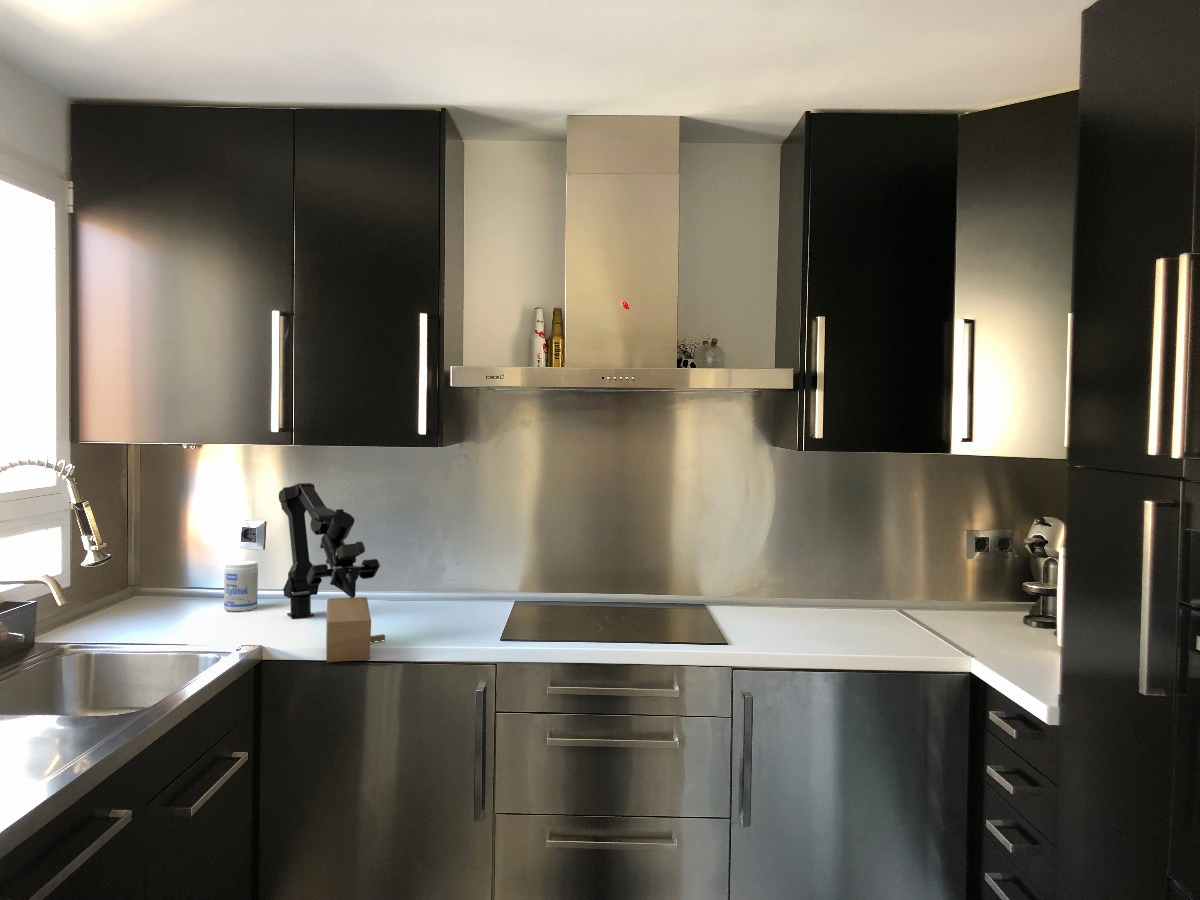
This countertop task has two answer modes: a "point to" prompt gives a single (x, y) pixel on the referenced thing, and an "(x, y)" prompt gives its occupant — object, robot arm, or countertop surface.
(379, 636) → the oak batten
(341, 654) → the wooden block
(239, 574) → the supplement tub
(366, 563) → the robot arm
